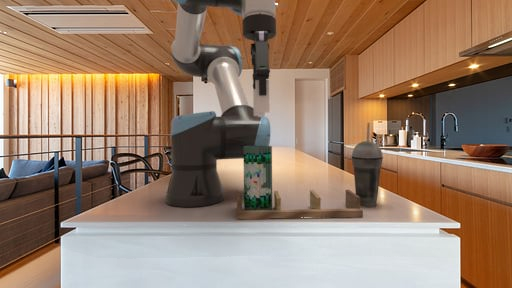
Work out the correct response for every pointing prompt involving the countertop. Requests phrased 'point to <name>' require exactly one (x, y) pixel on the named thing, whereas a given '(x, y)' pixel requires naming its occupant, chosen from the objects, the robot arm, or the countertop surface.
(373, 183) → the beverage cup
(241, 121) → the robot arm
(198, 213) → the countertop surface
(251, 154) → the can
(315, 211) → the notch rack
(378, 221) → the countertop surface
